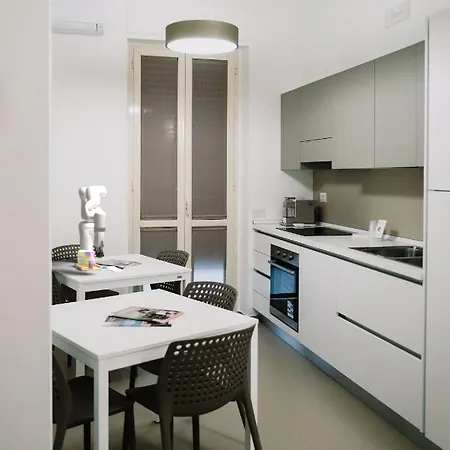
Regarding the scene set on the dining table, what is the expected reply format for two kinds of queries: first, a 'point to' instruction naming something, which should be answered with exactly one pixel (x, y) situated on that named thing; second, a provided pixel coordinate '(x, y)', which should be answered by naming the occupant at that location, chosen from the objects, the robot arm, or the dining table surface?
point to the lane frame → (89, 266)
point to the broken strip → (114, 269)
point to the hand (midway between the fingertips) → (99, 257)
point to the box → (85, 257)
